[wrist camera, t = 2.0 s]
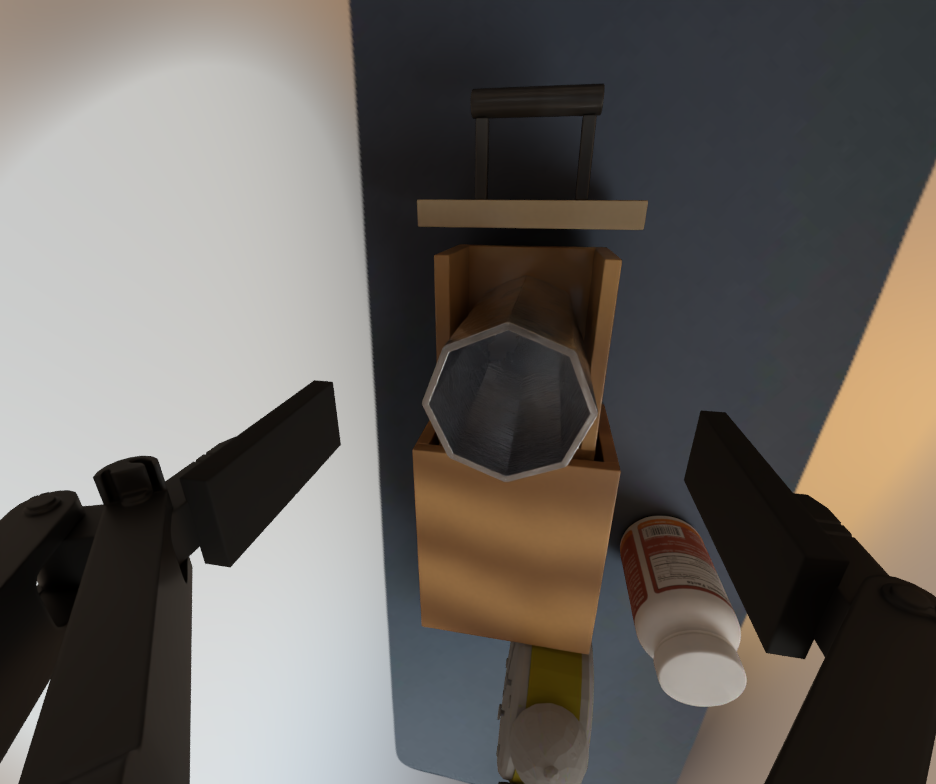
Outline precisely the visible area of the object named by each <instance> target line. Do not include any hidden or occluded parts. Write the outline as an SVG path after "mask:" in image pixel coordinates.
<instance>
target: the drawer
mask: <svg viewBox="0 0 936 784" xmlns="http://www.w3.org/2000/svg"><path fill="white" fill-rule="evenodd" d="M603 99H604V84H581V85H555V86H529V87H503V88H478V89H472V92H471V114H472V118H473V119H476V150H475V200H417V211H418V226H419V227H475V228H543V229H612V230H643V229H644V224H645V217H646V211H647V205H648V201H647V200H588V193H589V183H590V174H591V165H592V155H593V146H594V136H595V127H596V117H597V116H596V115H601V112H602V107H603ZM559 116H583V119H582V130H581V140H580V151H579V161H578V172H577V182H576V193H575V200H488V169H489V122H490V121H489V119H488V118H522V117H559ZM621 264H622V260H621V259H620V258H619V257H618V256H617V255H615V254H614V253H613V252H612V251H611V250H609V249H608V248H606V247H568V246H521V245H474V244H459V245H457V246H455V247H452V248H450V249H448V250H445V251H443V252H441V253H438V254H436V255H434V274H435V313H436V352H437V361H438V359H439V356H440V353H441V351H442V348H443V347H444V345H445V344H446V343H447V341H448V340H449V339H450V338H451V336H452V335H453V334H454V332H455V331H456V330H457V329H458V327H459V326H460V325H461V323H462V322H463V321H464V320H465V318H466V317H467V316H468V314H469V313H470V312H471V311H472V309H473V308H474V307H475V306H476V304H477V303H478V302H479V300H480V299H481V298H482V297H483V295H484V294H485V293H486V291H487V290H490V289H492V288H495V287H497V286H500V285H501V284H503V283H505V282H508V281H511V280H513V279H517V278H519V277H521V276H524V275H530V276H532V277H535V278H537V279H540V280H543V281H546V282H548V283H550V284H552V285H554V286H555V287H558V288H560V289H562V290H565V291H567V292H568V294H569V297H570V300H571V303H572V306H573V309H574V311H575V314H576V317H577V320H578V323H579V326H580V329H581V332H582V337H583V342H584V346H585V351H586V356H587V361H588V366H589V371H590V375H591V380H592V385H593V390H594V395H595V399H596V404H597V409H598V416H597V418H596V419H595V421H594V422H593V424H592V426H591V427H590V429H589V431H588V432H587V434H586V436H585V437H584V439H583V441H582V442H581V444H580V446H579V447H578V449H577V451H576V452H575V454H574V456H573V457H572V459H579V460H589V461H594V455H595V448H596V441H597V434H598V427H599V420H600V412H601V405H602V398H603V391H604V384H605V377H606V370H607V363H608V356H609V349H610V342H611V335H612V328H613V321H614V314H615V307H616V300H617V292H618V285H619V278H620V271H621ZM439 446H442V444H441V442H440V440H439Z"/></svg>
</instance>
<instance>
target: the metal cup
mask: <svg viewBox="0 0 936 784" xmlns="http://www.w3.org/2000/svg"><path fill="white" fill-rule="evenodd" d="M422 403H423V404H422V405H423V407H424V409H425V411H426V413H427V415H428V417H429V419H430V421H431V423H432V426H433V428H434V430H435V432H436V434H437V436H438V438H439V440H440V442H441V444H442V446H443V448H444V450H445V452H446V454H447V456H448V457H449V458H451V459H453V460H455V461H458V462H460V463H462V464H464V465H467V466H469V467H471V468H474V469H476V470H478V471H480V472H483V473H485V474H487V475H490V476H492V477H494V478H496V479H499V480H501V481H503V482H510V481H514V480H518V479H522V478H525V477H529V476H533V475H537V474H541V473H545V472H549V471H553V470H557V469H561V468H565V467H566V466H568V464H569V462H570V461H571V459H572V457H573V456H574V454H575V452H576V451H577V449H578V447H579V446H580V444H581V442H582V441H583V439H584V437H585V436H586V434H587V432H588V431H589V429H590V427H591V426H592V424H593V422H594V421H595V419H596V418H597V416H598V409H597V404H596V399H595V395H594V390H593V385H592V380H591V375H590V371H589V366H588V361H587V356H586V351H585V346H584V342H583V337H582V332H581V329H580V326H579V323H578V320H577V317H576V314H575V311H574V309H573V306H572V303H571V300H570V297H569V294H568V292H567V291H565V290H562V289H560V288H558V287H555V286H554V285H552V284H550V283H548V282H546V281H543V280H540V279H537V278H535V277H532V276H530V275H524V276H521V277H519V278H517V279H513V280H511V281H508V282H505V283H503V284H501V285H500V286H497V287H495V288H492V289H490V290H487V291H486V293H485V294H484V295H483V297H482V298H481V299H480V300H479V302H478V303H477V304H476V306H475V307H474V308H473V309H472V311H471V312H470V313H469V314H468V316H467V317H466V318H465V320H464V321H463V322H462V323H461V325H460V326H459V327H458V329H457V330H456V331H455V332H454V334H453V335H452V336H451V338H450V339H449V340H448V341H447V343H446V344H445V345H444V347H443V348H442V351H441V353H440V356H439V359H438V361H437V364H436V367H435V369H434V372H433V374H432V377H431V380H430V382H429V385H428V388H427V390H426V393H425V396H424V398H423V401H422Z"/></svg>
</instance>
